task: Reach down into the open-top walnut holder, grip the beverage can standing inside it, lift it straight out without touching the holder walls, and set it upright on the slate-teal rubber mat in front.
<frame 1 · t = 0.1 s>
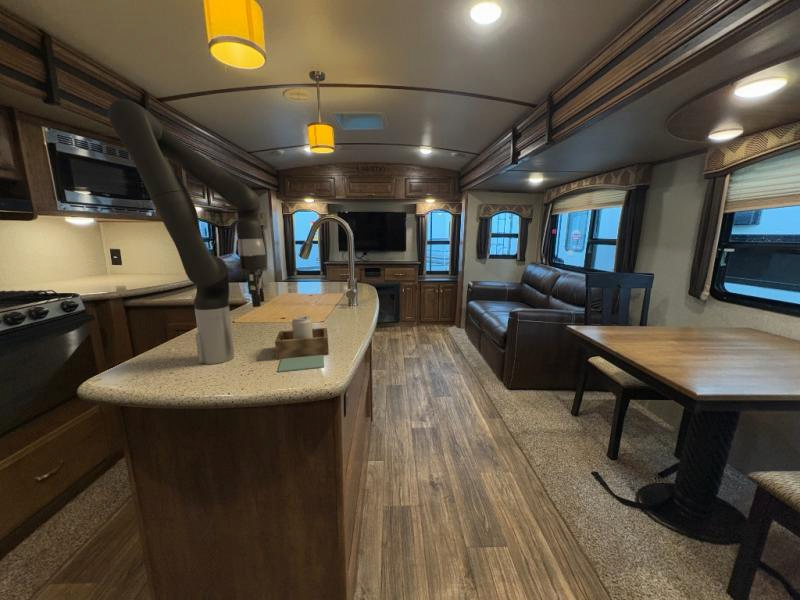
hand: (259, 304, 100), 17 cm above the counter, tool pointing down, fingers open, 8 cm apart
rubber mat: (302, 363, 95), on the counter
walnut holder: (303, 350, 106), on the counter
beverage can: (303, 351, 106), resting in walnut holder
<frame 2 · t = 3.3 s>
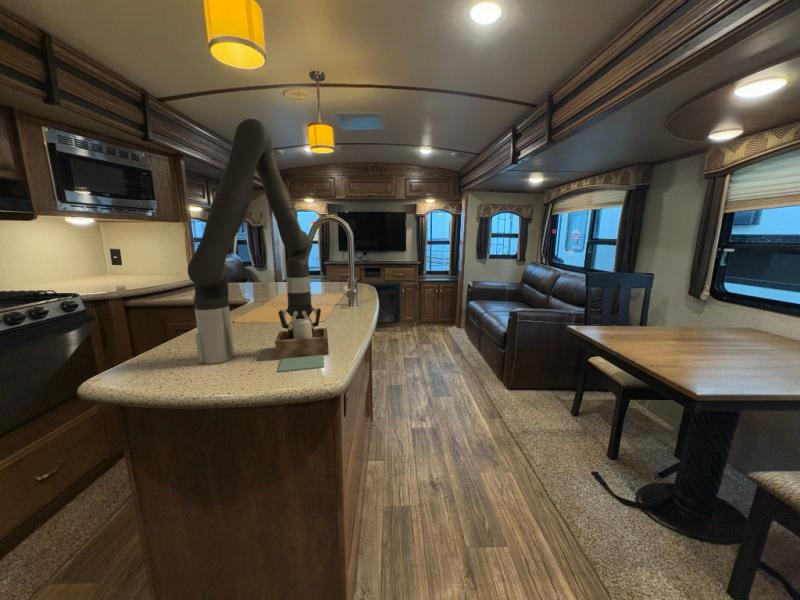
hand: (301, 338, 106), 4 cm above the counter, tool pointing down, fingers open, 5 cm apart
beverage can: (303, 351, 106), resting in walnut holder, touching gripper
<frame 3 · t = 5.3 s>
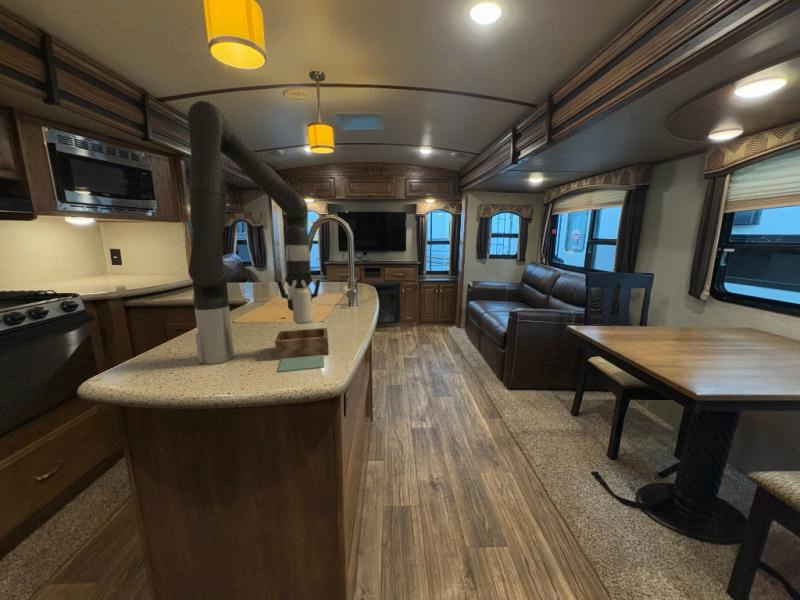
hand: (300, 309, 104), 15 cm above the counter, tool pointing down, fingers closed on beverage can, 5 cm apart
beverage can: (303, 322, 105), point 10 cm above the counter, touching gripper
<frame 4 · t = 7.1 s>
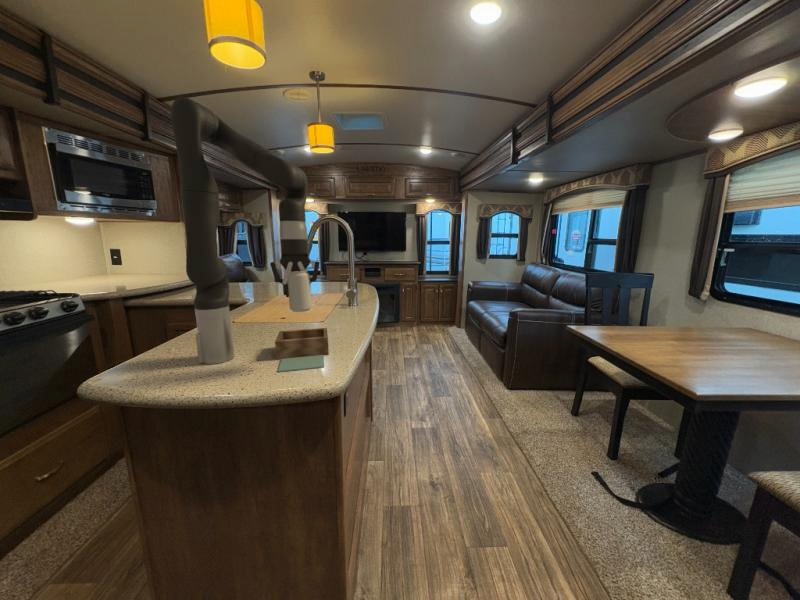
hand: (297, 295, 91), 21 cm above the counter, tool pointing down, fingers closed on beverage can, 5 cm apart
beverage can: (301, 310, 92), point 17 cm above the counter, touching gripper
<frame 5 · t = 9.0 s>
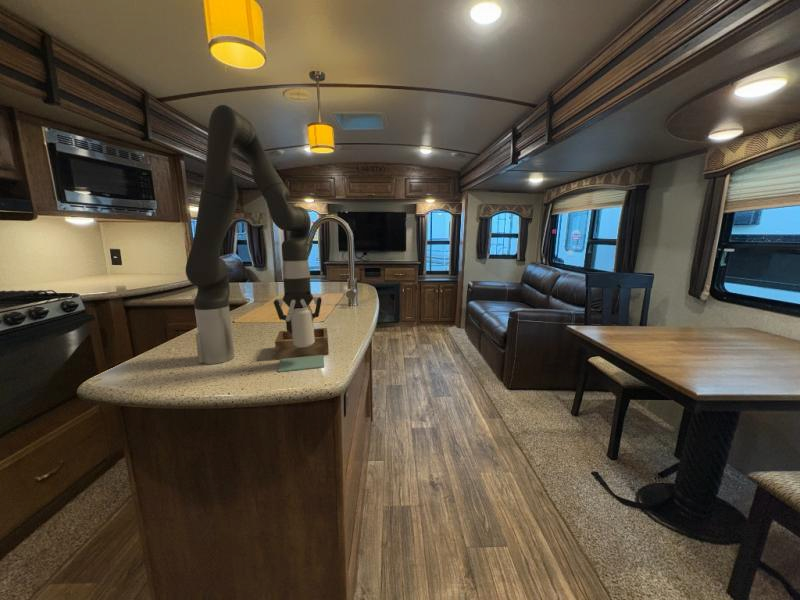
hand: (300, 331, 93), 10 cm above the counter, tool pointing down, fingers closed on beverage can, 5 cm apart
beverage can: (304, 345, 94), point 6 cm above the counter, touching gripper
when the fingers open (6 cm above the counter, at t = 10.7 s): beverage can moves 3 cm, resting on rubber mat.
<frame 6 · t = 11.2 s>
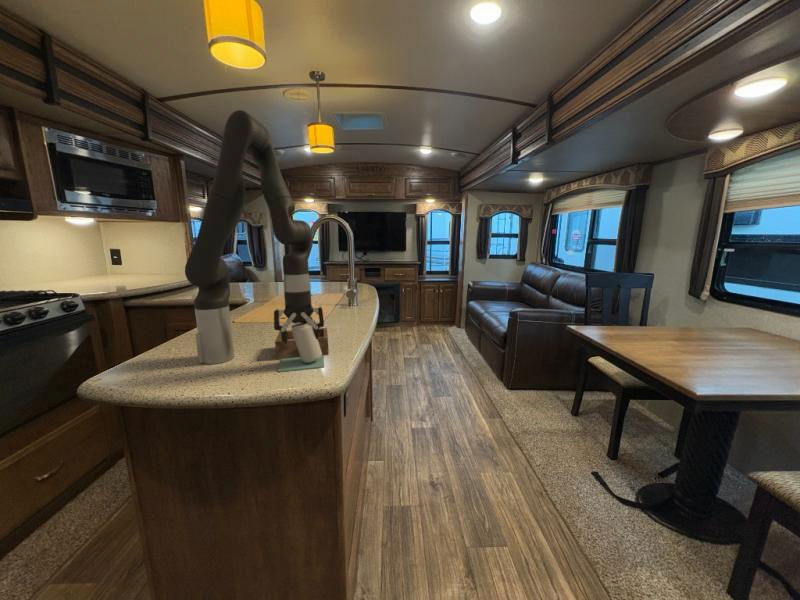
hand: (300, 341, 94), 7 cm above the counter, tool pointing down, fingers open, 8 cm apart
beverage can: (312, 359, 96), point 1 cm above the counter, touching gripper, rubber mat
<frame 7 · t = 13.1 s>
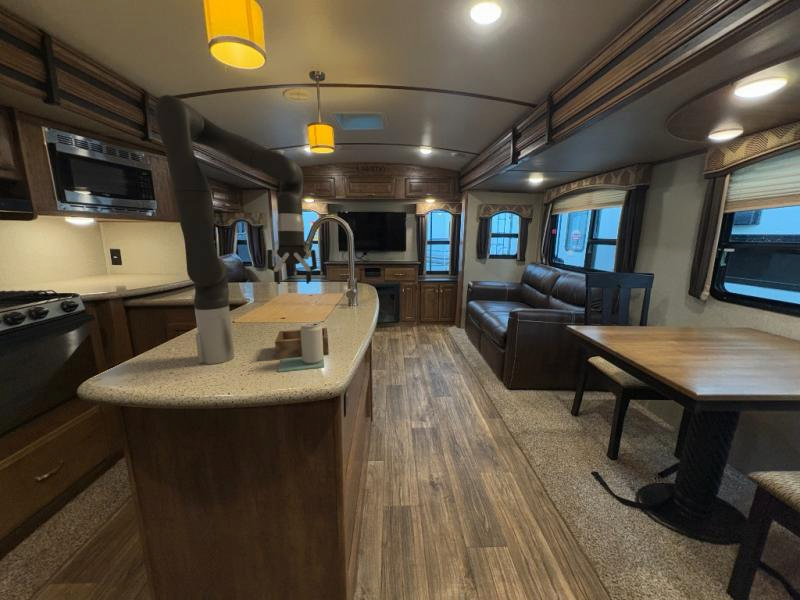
hand: (293, 283, 95), 24 cm above the counter, tool pointing down, fingers open, 8 cm apart
beverage can: (313, 361, 96), resting on rubber mat
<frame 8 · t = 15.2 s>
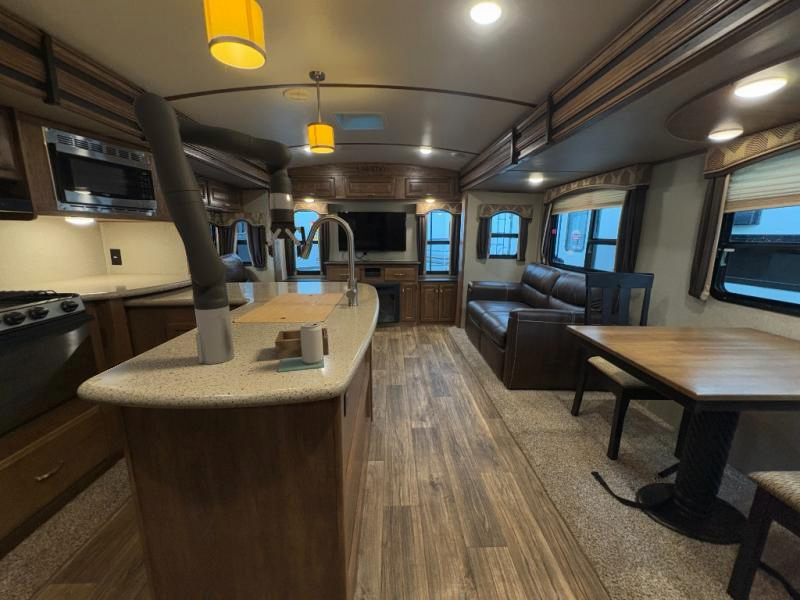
hand: (285, 257, 107), 32 cm above the counter, tool pointing down, fingers open, 8 cm apart
nothing on the counter moved.
at the end: beverage can inside the target area on the rubber mat (3.2 cm from its centre), point 0.2 cm above the rubber mat's base; beverage can tilted 0°; beverage can touching rubber mat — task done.
